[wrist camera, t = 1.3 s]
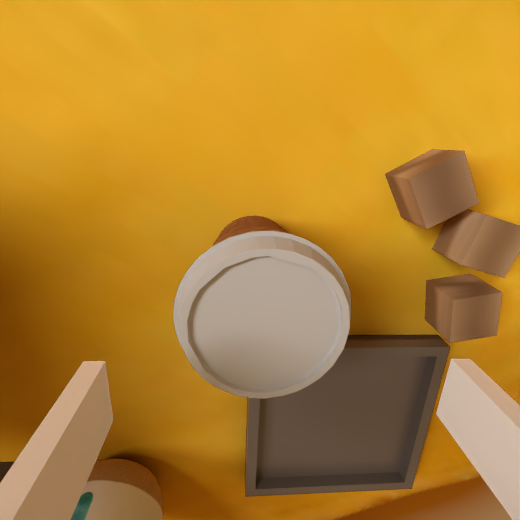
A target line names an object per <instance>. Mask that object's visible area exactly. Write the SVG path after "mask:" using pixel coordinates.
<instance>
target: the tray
mask: <svg viewBox="0 0 520 520" xmlns="http://www.w3.org/2000/svg"><path fill="white" fill-rule="evenodd" d="M449 350H450V346H449V345H448V344H447V343H446V342H445V341H444V340H443V339H442V338H441V337H439V336H438V335H348V336H347V340H346V343H345V347H344V349H343V351H342V352H341V354H340V356H339V357H338V359H337V360H336V362H335V363H334V365H333V366H332V367H331V368H330V369H329V370H328V371H327V372H326V373H325V374H324V375H323V376H322V377H321V378H320V379H318V380H317V381H315V382H313V383H312V384H310V385H309V386H307V387H305V388H303V389H301V390H299V391H297V392H294V393H290V394H287V395H284V396H278V397H271V398H248V402H247V430H246V458H245V497H248V496H269V495H290V494H311V493H332V492H354V491H375V490H396V489H412V486H413V482H414V479H415V475H416V471H417V468H418V464H419V460H420V457H421V453H422V449H423V445H424V442H425V438H426V434H427V431H428V427H429V423H430V420H431V416H432V412H433V409H434V405H435V401H436V398H437V394H438V390H439V386H440V383H441V379H442V375H443V372H444V368H445V364H446V361H447V357H448V353H449Z"/></svg>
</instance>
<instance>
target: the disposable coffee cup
mask: <svg viewBox="0 0 520 520" xmlns="http://www.w3.org/2000/svg"><path fill="white" fill-rule="evenodd" d="M351 307H352V303H351V297H350V290H349V286H348V284H347V282H346V279H345V277H344V275H343V272H342V270H341V269H340V268H339V266H338V265H337V264H336V263H335V261H334V260H333V259H332V257H331V256H330V255H328V254H327V253H326V252H325V251H324V250H323V249H321V248H320V247H319V246H317V245H315V244H313V243H312V242H310V241H308V240H307V239H304V238H302V237H299V236H296V235H293V234H290V233H288V232H287V231H286V230H284V229H283V228H282V227H280V226H279V225H278V224H276V223H275V222H273V221H271V220H269V219H267V218H264V217H259V216H247V217H243V218H239V219H237V220H235V221H233V222H232V223H230V224H229V225H228V226H226V227H225V228H224V230H223V231H222V232H221V234H220V235H219V237H218V238H217V240H216V241H215V242H214V244H213V245H212V247H211V248H209V249H208V250H207V251H206V252H205V253H203V254H202V255H201V256H200V257H198V258H197V259H196V260H195V261H194V263H193V264H192V265H191V267H190V268H189V269H188V270H187V272H186V273H185V275H184V277H183V279H182V281H181V283H180V285H179V287H178V290H177V294H176V297H175V301H174V313H173V319H174V325H175V331H176V335H177V337H178V340H179V343H180V345H181V346H182V348H183V350H184V352H185V355H186V357H187V359H188V360H189V362H190V363H191V365H192V366H193V368H194V369H195V370H196V371H197V372H198V373H199V374H200V375H201V377H202V378H204V379H205V380H206V381H208V382H209V383H211V384H212V385H213V386H215V387H217V388H219V389H222V390H224V391H226V392H229V393H232V394H234V395H237V396H242V397H248V398H271V397H278V396H284V395H287V394H290V393H294V392H297V391H299V390H301V389H303V388H305V387H307V386H309V385H310V384H312V383H313V382H315V381H317V380H318V379H320V378H321V377H322V376H323V375H324V374H325V373H326V372H327V371H328V370H329V369H330V368H331V367H332V366H333V365H334V363H335V362H336V360H337V359H338V357H339V356H340V354H341V352H342V351H343V349H344V347H345V343H346V340H347V336H348V333H349V329H350V318H351Z"/></svg>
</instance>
